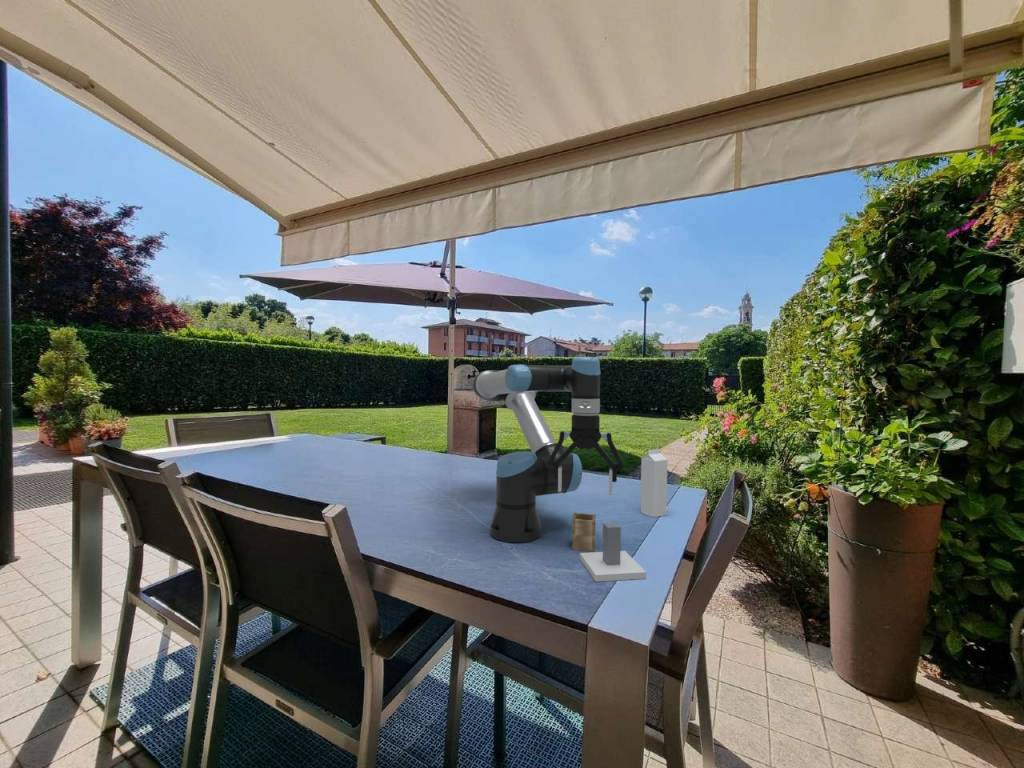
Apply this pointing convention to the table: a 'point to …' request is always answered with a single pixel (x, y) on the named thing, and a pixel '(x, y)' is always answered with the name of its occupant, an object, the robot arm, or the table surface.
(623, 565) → the post board
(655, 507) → the milk
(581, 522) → the collar
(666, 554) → the table surface
